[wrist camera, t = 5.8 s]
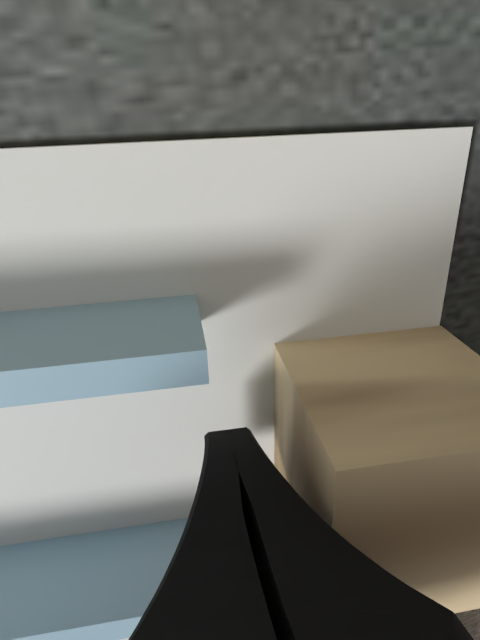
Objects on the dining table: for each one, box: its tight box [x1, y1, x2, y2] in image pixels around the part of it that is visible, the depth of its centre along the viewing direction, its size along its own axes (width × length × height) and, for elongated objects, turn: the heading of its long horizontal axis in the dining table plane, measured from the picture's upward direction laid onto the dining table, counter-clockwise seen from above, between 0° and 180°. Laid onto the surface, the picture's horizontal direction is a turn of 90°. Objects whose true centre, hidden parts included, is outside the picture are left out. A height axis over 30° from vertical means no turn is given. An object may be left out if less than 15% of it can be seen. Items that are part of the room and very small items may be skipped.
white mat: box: [0, 126, 473, 640], centre depth 14 cm, size 18×24×1 cm
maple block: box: [274, 326, 480, 613], centre depth 12 cm, size 5×5×5 cm
